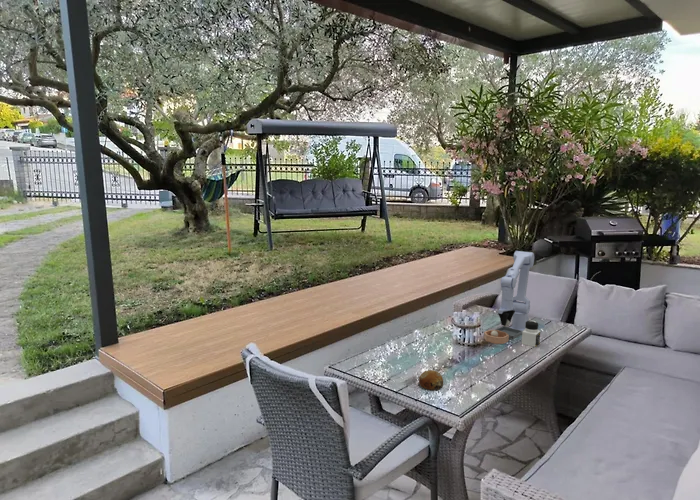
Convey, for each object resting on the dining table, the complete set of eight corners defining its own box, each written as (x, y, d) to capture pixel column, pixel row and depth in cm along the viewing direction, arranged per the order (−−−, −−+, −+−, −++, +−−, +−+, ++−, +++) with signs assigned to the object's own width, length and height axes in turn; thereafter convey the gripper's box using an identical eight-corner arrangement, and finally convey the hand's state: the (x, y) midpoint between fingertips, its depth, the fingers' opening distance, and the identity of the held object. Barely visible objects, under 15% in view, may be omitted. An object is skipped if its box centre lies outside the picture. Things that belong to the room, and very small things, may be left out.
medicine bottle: (535, 347, 239) (537, 324, 237) (521, 344, 243) (522, 322, 242) (539, 343, 245) (541, 321, 243) (525, 340, 249) (527, 318, 247)
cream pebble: (492, 336, 254) (493, 329, 254) (499, 338, 251) (500, 331, 251) (488, 337, 251) (489, 330, 251) (495, 339, 248) (496, 332, 248)
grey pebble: (503, 324, 253) (504, 317, 253) (510, 326, 250) (511, 319, 250) (500, 326, 250) (500, 318, 250) (507, 328, 247) (507, 320, 247)
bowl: (491, 335, 258) (491, 328, 257) (511, 340, 249) (512, 333, 249) (480, 340, 250) (480, 333, 249) (500, 345, 241) (500, 339, 241)
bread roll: (441, 389, 200) (439, 370, 203) (446, 390, 191) (445, 369, 193) (417, 390, 200) (416, 370, 202) (422, 390, 190) (421, 369, 192)
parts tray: (503, 329, 267) (503, 325, 266) (523, 334, 258) (523, 331, 258) (491, 334, 258) (492, 330, 258) (512, 340, 250) (512, 336, 249)
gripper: (506, 295, 256) (505, 319, 258) (493, 300, 246) (491, 325, 248) (519, 298, 251) (517, 322, 253) (505, 302, 241) (504, 328, 243)
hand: (505, 324), depth 250 cm, fingers closed on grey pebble, 4 cm apart
